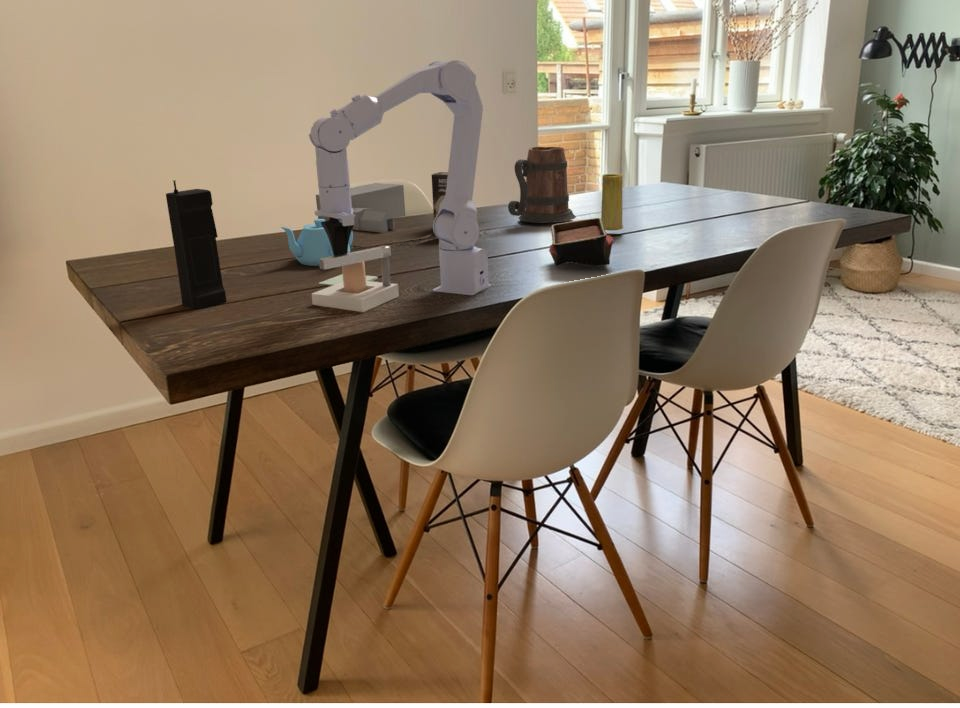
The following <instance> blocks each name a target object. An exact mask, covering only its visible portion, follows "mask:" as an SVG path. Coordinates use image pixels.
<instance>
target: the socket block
mask: <svg viewBox="0 0 960 708" xmlns="http://www.w3.org/2000/svg"><path fill="white" fill-rule="evenodd" d="M380 268H381V282H379V281H366V286H367V290H366V291H364V292H361V293H359V294H357V293H348V292H344V285H343V282H341V283H338V284H335V285H333V286H330V285H329V286H328V287H325V288H322V289H320V290H317V291H315V292H312V293H311V300H312V302H311V303H312V305H313V306H318V307H325V308H326V307H327V308H334V309H340V310H347V311H353V312H359V313H364V312H367V311H369V310H373V309H374V308H377V307H378V306H381V305H383V304H385V303H387V302H389V301H392V300H393V299H396V298H398V297H400V293H399V284H398V283H391V271H390V268H391V267H390V256H389V257H382V258H380Z"/></svg>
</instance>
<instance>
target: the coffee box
mask: <svg viewBox="0 0 960 708" xmlns="http://www.w3.org/2000/svg"><path fill="white" fill-rule="evenodd" d="M447 177H448V171H447V172H446V171H445V172H442V171H440V172H435V173H432V174H431V188H432V189H431V191H432V192H431V193H432V209H433V213H432V214H433V220H434V219H435V217H436V216H437V214H438V212H439V205H440V203H441V202H442V200H443V199H444V197H445V195H446V187H447ZM433 233H434V232H433ZM434 235H435V233H434Z"/></svg>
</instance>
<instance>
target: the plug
mask: <svg viewBox="0 0 960 708" xmlns="http://www.w3.org/2000/svg"><path fill="white" fill-rule="evenodd" d="M365 265H366V264H365V261H363V262H359V263H354V264H349V265H344V266H341V272H342V273H341V274H343V285H344V292H348V293H357V294H359V293H361V292H364V291H366V290H367V286H366V276H367V275H366V266H365Z"/></svg>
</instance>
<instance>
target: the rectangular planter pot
mask: <svg viewBox="0 0 960 708" xmlns="http://www.w3.org/2000/svg"><path fill="white" fill-rule="evenodd" d="M550 233H551V241H552V242H551V244H550V246H549V249H548V251H549V253H550V256H551V258H552V259H553V262H554V265H555V266H554V267H558V266H561V265H564V264H567V263H569V264H570V263H571V264H579V265H587V266H595V267H596V266H597V267H598V266H610V261H611V259H610V258H611V252H612V248H613V247H612V246H613V244H614V237H612V236H611V235H608V234H607V230H605V229H604V225H603V222H602V219H601V217H593V218H585V219H579V220H578V219H576V220H569V221H564V222H561V223H560V222H558V223H555V224H552V225H551V227H550Z"/></svg>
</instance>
